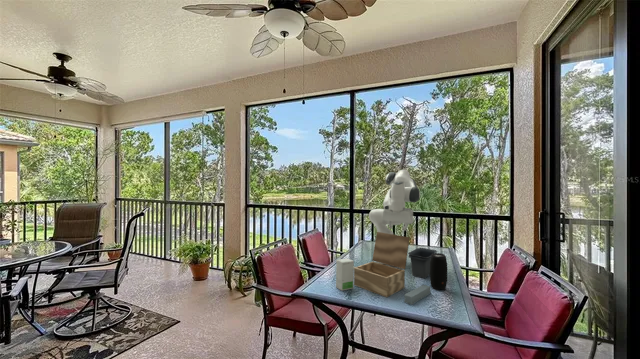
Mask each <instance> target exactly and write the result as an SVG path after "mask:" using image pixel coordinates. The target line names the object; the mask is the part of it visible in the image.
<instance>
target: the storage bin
mask: <svg viewBox="0 0 640 359" xmlns="http://www.w3.org/2000/svg"><path fill="white" fill-rule="evenodd" d="M437 253H439V251H438V250H436V249H432V248H431V249H430V248H427V247H425V248H424V247H417V248H415V249H413V250H411V251H409V252H408V253H407V255H408V258H410V267H411V275H412V276H413V277H417V278H422V279H426V278H427V277H430V261H431V254H437Z"/></svg>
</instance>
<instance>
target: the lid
mask: <svg viewBox="0 0 640 359" xmlns="http://www.w3.org/2000/svg"><path fill="white" fill-rule="evenodd" d="M374 241H375V243H374V249H373V253H372V254H373V255H372V259H371V260H372V261H371V262H376V263H378V262H380V264H381V263H383V264H384V265H387V266H391V267H394V268H398V269H402V270H406V266H407V265H406V264H407V259H408V253H409V252H408V251H409V245H410V244H409V243H410V236H403V235H398V234H394V233H393V234H387V233H381V232H378V231H376V235H375V240H374Z"/></svg>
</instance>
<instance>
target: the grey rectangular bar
mask: <svg viewBox="0 0 640 359" xmlns="http://www.w3.org/2000/svg"><path fill="white" fill-rule="evenodd" d="M430 294H431V285H430V286H429V285H426V284H421V285H420V286H418V287H416V288H414V289H411V291H409V292H407V293H405V294H404V300H403V302H404V303H406V304H408V305H411V306H413V305H414V304H415V303H417V302H419V301H420V300H422V299H424V298H425V297H427V296H429V295H430Z"/></svg>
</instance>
